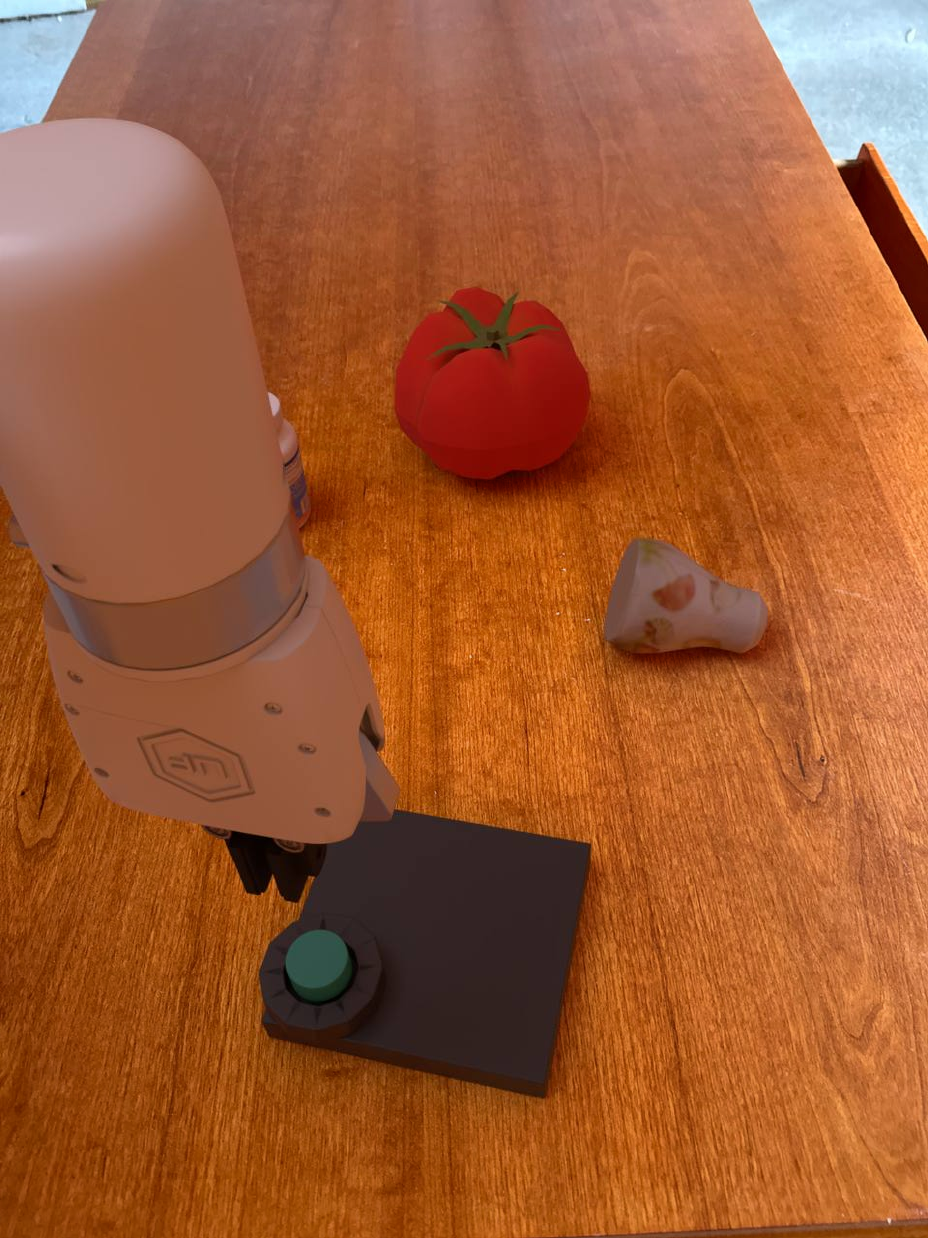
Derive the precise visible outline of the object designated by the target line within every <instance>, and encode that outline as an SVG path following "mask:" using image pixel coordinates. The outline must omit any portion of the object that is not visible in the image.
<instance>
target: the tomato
mask: <svg viewBox="0 0 928 1238" xmlns="http://www.w3.org/2000/svg"><path fill="white" fill-rule="evenodd" d="M519 293H520V290H518V291H517V292H516V293H514V294H513V295H511V296H510V297H509V298H508V299H507V300H506V303H505V301H504V300H503V299H502V297H501V295H498V294H496V293H493V292H491V291H488V290H486V289H483V288H482V287H479V286H477V285H476V286H470V287H467V288H461V289H457V290H455V291H454V293H453V295H452V296H451V298H450V299H449V301H445V300H441V299H437V301H438V302H440V304H444V305H445V306H444V308H443V309H442V311H437V312H430V313H428V314H427V316H426V317H424V319H422V321H421V322H420V323H419V324H418V325H417V326H416V328H414V330H413V332H412V334H411V336H410V339H409V340H408V342H407V345H406V346H405V348H404V351H403V353H402V355H401V358H400V360H399V362H398V364H397V367H396V369H395V382H394V386H395V387H394V413H395V417H396V419H397V422H398V424H399V427H400V430H401V431H402V432H403V434H404V435H405V436H406V437H407V438H408V439H409V440H410V441H411V443H413V444H414V445H415V446H416V447H418V448H419V449H420V450H422V451H423V452H424V453H426V454H427V456H428V457H429V458H430V460H431V461H432V462H433V463H434V465H435V466H436V467H437V468H438V469H441V470H444V471H447V472H449V473H452V474H454V475H455V474H456V475H458V476H461V477H464V478H466V479H477V480H487V481H488V480H493V479H495V478H497V477H500V476H502V475H504V474H506V473H508V472H511V471H526V472H527V471H528V472H531V471H534V470H538V469H541V468H542V467H544V466H546V465H550V464H551V463H553V462H555V461H556V460H558V459H559V458H561V457H562V456H563V455H564V454H565V453H566V451H568V450H569V448H570V447H571V446H573V444H574V443H575V440H576V439H577V438H578V436H579V434H580V433H581V432H582V429H583V426H584V424H585V420H586V417H587V415H588V410H589V406H590V402H591V401H590V400H591V396H592V394H591V393H592V392H591V387H590V380H589V373H588V371H587V370H586V368H585V367H584V365H583V363H582V362H581V360H580V359H579V357H578V355H577V353H576V350H575V347H574V344H573V342H572V340H571V338H570V335H569V333H568V331H567V329H566V327H565V325H564V323H563V321H561V320H560V319H559V317H557V316H556V315H555V314H554V312H552V311H551V309H549V308H548V307H546V306H545V305H543V304H542V303H540V302H539V301H537V300H521V301H518V302H515V300H516V299H517V297H518V296H519Z"/></svg>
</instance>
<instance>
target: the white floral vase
mask: <svg viewBox="0 0 928 1238" xmlns="http://www.w3.org/2000/svg"><path fill="white" fill-rule="evenodd" d="M611 587H612V588H611V591H610V595H609V598H608V602H607V609H606V614H605V620H604V627H603V636H604V640H605V641H606V643H609V644H611V645H613V646H614V647H616V648H618V649H619V650H620V649H621V650H622V651H626V652H630V653H635V654H657V653H665V652H673V651H679V650H685V649H694V648H702V647H703V648H715V649H720V650H725V651H730V652H734V653H737V654H743V653H746V652H747V651H749V650H752V649H753V648H755V647H756V646H758V644H759V643H760V641H761V640H762V639H763V638H762V637H763V636H764V633H765V631H766V628H767V625H768V620H769V619H768V618H769V610H768V609H769V608H768V606H767V604H766V603H767V602H765V600H764V599H763V598H762V596H761V594H760V593H759V592H758V591H756V590H752V589H749V588H745V587H741V586H738V585H735V584H732V583H729V582H727V581H724V580H723V579H721V578H719V577H718V576H716V575H715V574H713V573H712V572H710V571H709V569H707V568H705V567H704V566H703V565H701V564H700V563H698V562H697V561H696V560H694V559H693V558H692V557H690V556H689V555H688V554H687V553H685V552H683V551H682V550H680V548H677V547H676V546H674V545H672V544H670V543H668V542H665V541H663V540H660V539H655V538H649V537H648V538H647V537H646V538H645V537H637V538H633V539H632V540H631V541H630V542H629V544H627V547H626V549H625V551H624V553H623V555H622V557H621V560H620V563H619V565H618V567H617V570H616V574H615V577H614V580H613V584H612V586H611Z"/></svg>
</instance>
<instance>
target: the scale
mask: <svg viewBox="0 0 928 1238" xmlns="http://www.w3.org/2000/svg"><path fill="white" fill-rule="evenodd" d="M591 860H592V844H591V843H589V842H583V841H578V840H574V839H568V838H562V837H556V836H549V835H544V834H538V833H534V832H533V833H532V832H528V831H522V830H517V829H510V828H505V827H499V826H493V825H487V824H481V823H476V822H470V821H465V820H459V819H453V818H448V817H443V816H442V817H441V816H436V815H431V814H427V813H419V812H414V811H409V810H403V809H397V808H395V810H394V813H393V816H392V819H391V820H390V821H387V822H358V824H357V827H356V829H355V831H354V833H353V834H352V836H350V837H349V838H347V839H344V840H342V841H338V842H333V843H327V853H326V858H325V861H324V864H323V866H322V869H321V872H320V874H319V875H318V877H313V879H312V882H311V885H310V888H309V890H308V893H307V895H306V898H305V900H304V904H303V906H302V909H301V912H300V914H299V916H298V917H299V918H298V919H297V920H295V921H292V922H291V923H290V924H288V925H287V926H286V927H285V928H284V929H283V930H282V931H281V932H280V933H278V935H276V936H275V937H274V938H273V939H272V940H271V941H270V942H269V943H268V946H267V949H266V951H265V954H264V957H263V959H262V962H261V964H260V967H259V969H258V974H257V975H258V980H259V985H260V992H261V998H262V1003H263V1004H264V1007H265V1009H264V1012H263V1015H262V1018H261V1024H262V1027H263V1029H264V1030H265V1033H266V1035H267V1037H268V1038H270V1039H271V1038H272V1039H276V1040H280V1041H285V1042H289V1043H293V1044H299V1045H303V1046H309V1047H313V1048H317V1049H321V1050H325V1051H330V1052H334V1053H339V1054H344V1055H348V1056H351V1057H356V1058H361V1059H365V1060H369V1061H373V1062H374V1061H375V1062H379V1063H383V1064H388V1065H391V1066H397V1067H401V1068H405V1069H410V1070H414V1071H418V1072H423V1073H426V1074H427V1073H428V1074H431V1075H432V1074H433V1075H437V1076H441V1077H445V1078H451V1079H454V1080H457V1081H458V1080H459V1081H463V1082H468V1083H472V1084H477V1085H481V1086H486V1087H491V1088H494V1089H498V1090H499V1089H500V1090H503V1091H507V1092H512V1093H516V1094H522V1095H524V1096H525V1095H526V1096H531V1097H535V1098H538V1099H543V1100H544V1099H546V1096H547V1092H548V1086H549V1081H550V1075H551V1070H552V1065H553V1061H554V1055H555V1050H556V1046H557V1045H556V1044H557V1040H558V1039H557V1038H558V1033H559V1029H560V1023H561V1019H562V1013H563V1007H564V1002H565V997H566V992H567V989H568V982H569V977H570V972H571V966H572V962H573V956H574V950H575V945H576V941H577V935H578V930H579V925H580V919H581V914H582V909H583V904H584V903H583V902H584V900H585V894H586V887H587V883H588V877H589V872H590V867H591V862H592V861H591ZM313 930H327V931H331V932H333V933H335V934H337V935H338V936H339V937H340V938H341V939H342V940H343V941H344V943H345V944H346V947H347V950H348V953H349V957H350V960H351V964H352V975H351V978H350V981H349V983H348V985H347V986H346V988H345V989H344V990H343V991H342V992H341V993H340V994H339V995H337V996H336V997H334V998H332V999H329V1000H326V1001H320V1002H315V1001H310V1000H307V999H305V998H303V997H301V996H300V995H299V994H298V993H297V992H296V991H295V989H294V988H293V986H292V983H291V981H290V978H289V976H288V973H287V970H286V955H287V952H288V950H289V948H290V946H291V945H292V944H293V942H294V941H295V940H296V939H297V938H298V937H300V936H301V935H303V934H305V933H307V932H310V931H313Z"/></svg>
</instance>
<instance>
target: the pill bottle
mask: <svg viewBox="0 0 928 1238" xmlns="http://www.w3.org/2000/svg"><path fill="white" fill-rule="evenodd" d="M268 396H269V400H270V405H271V409H272V414H273V418H274V423H275V427H276V432H277V436H278V440H279V444H280V448H281V452H282V456H283V461H284V465H285V470H286V475H287V480H288V484H289V488H290V492H291V496H292V500H293V505H294V509H295V513H296V518H297V522H298V526H299V530H300V529H301V528H302V527H303V526H304V525H305V524H306V523H307V522H308V520H309V518H310V515H311V512H312V508H311V507H312V505H311V500H310V496H309V490H308V485H307V481H306V475H305V470H304V465H303V459H302V454H301V449H300V444H299V439H298V435H297V431H296V429H295V427H294V426H293V424H292V423H291V422H290V421H288V420H287V419H286V418H284V413H283V409H282V405H281V402H280V400H279V398H278V397H277V396H276V395H275V394H273V393H271V392H269V391H268Z"/></svg>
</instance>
